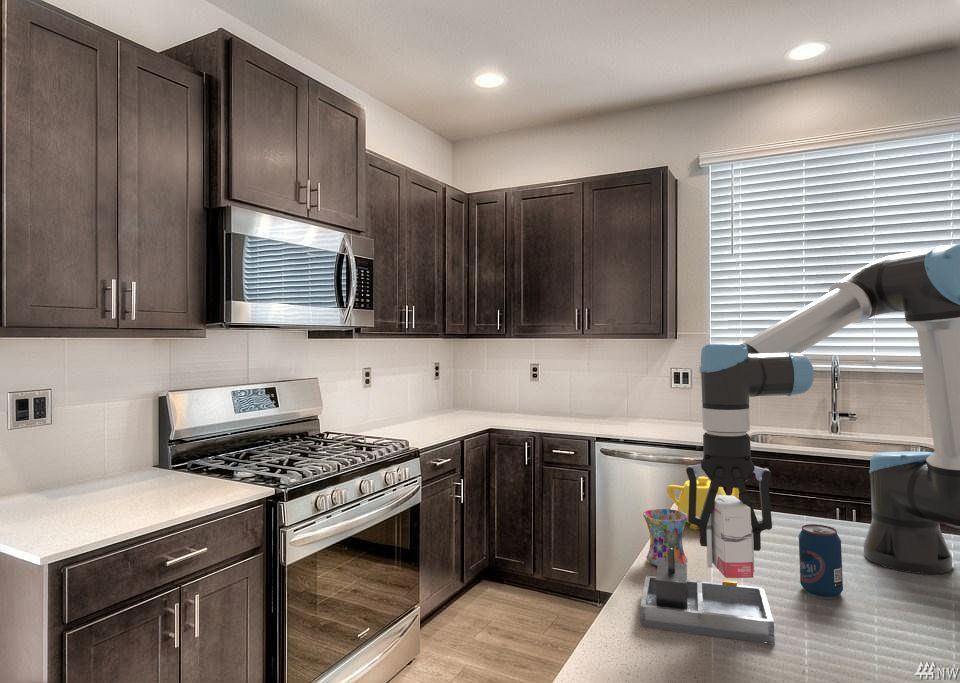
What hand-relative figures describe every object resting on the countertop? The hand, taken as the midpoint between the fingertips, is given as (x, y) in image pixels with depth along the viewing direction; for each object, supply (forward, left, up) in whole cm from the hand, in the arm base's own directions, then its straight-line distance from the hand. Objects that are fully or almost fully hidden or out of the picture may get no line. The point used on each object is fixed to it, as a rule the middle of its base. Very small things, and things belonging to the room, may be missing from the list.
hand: (730, 566), depth 99 cm
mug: (+11, -25, -9) cm, 29 cm away
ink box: (0, 0, -1) cm, 1 cm away
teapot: (+2, -54, -9) cm, 55 cm away
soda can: (-17, -16, -9) cm, 25 cm away
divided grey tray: (+4, 0, -9) cm, 10 cm away
